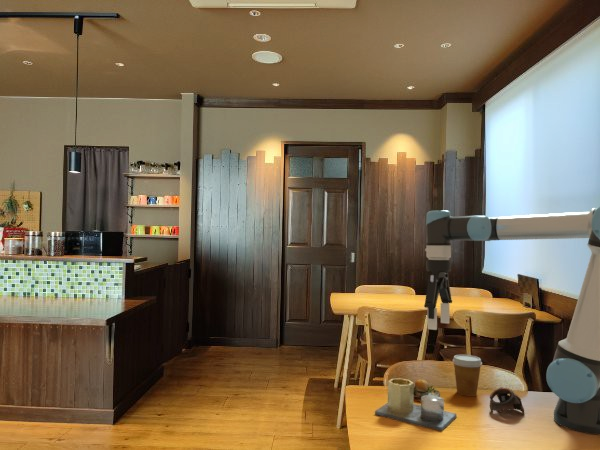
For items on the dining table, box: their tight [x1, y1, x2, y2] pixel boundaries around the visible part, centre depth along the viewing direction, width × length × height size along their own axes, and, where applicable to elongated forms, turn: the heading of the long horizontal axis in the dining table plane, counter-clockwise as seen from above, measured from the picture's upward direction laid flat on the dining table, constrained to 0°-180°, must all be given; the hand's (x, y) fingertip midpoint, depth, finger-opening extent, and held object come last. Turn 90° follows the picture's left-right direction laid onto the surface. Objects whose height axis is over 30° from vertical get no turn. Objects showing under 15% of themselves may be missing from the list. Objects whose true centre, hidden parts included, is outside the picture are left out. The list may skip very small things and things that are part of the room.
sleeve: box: [387, 377, 415, 413], centre depth 146 cm, size 7×7×8 cm
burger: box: [413, 378, 441, 403], centre depth 161 cm, size 12×12×8 cm
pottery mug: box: [489, 387, 526, 416], centre depth 149 cm, size 12×10×8 cm
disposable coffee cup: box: [452, 354, 483, 397], centre depth 166 cm, size 10×10×12 cm
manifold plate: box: [374, 395, 457, 432], centre depth 144 cm, size 20×13×6 cm, turn 55°
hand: (438, 326), depth 154 cm, fingers open, 13 cm apart
